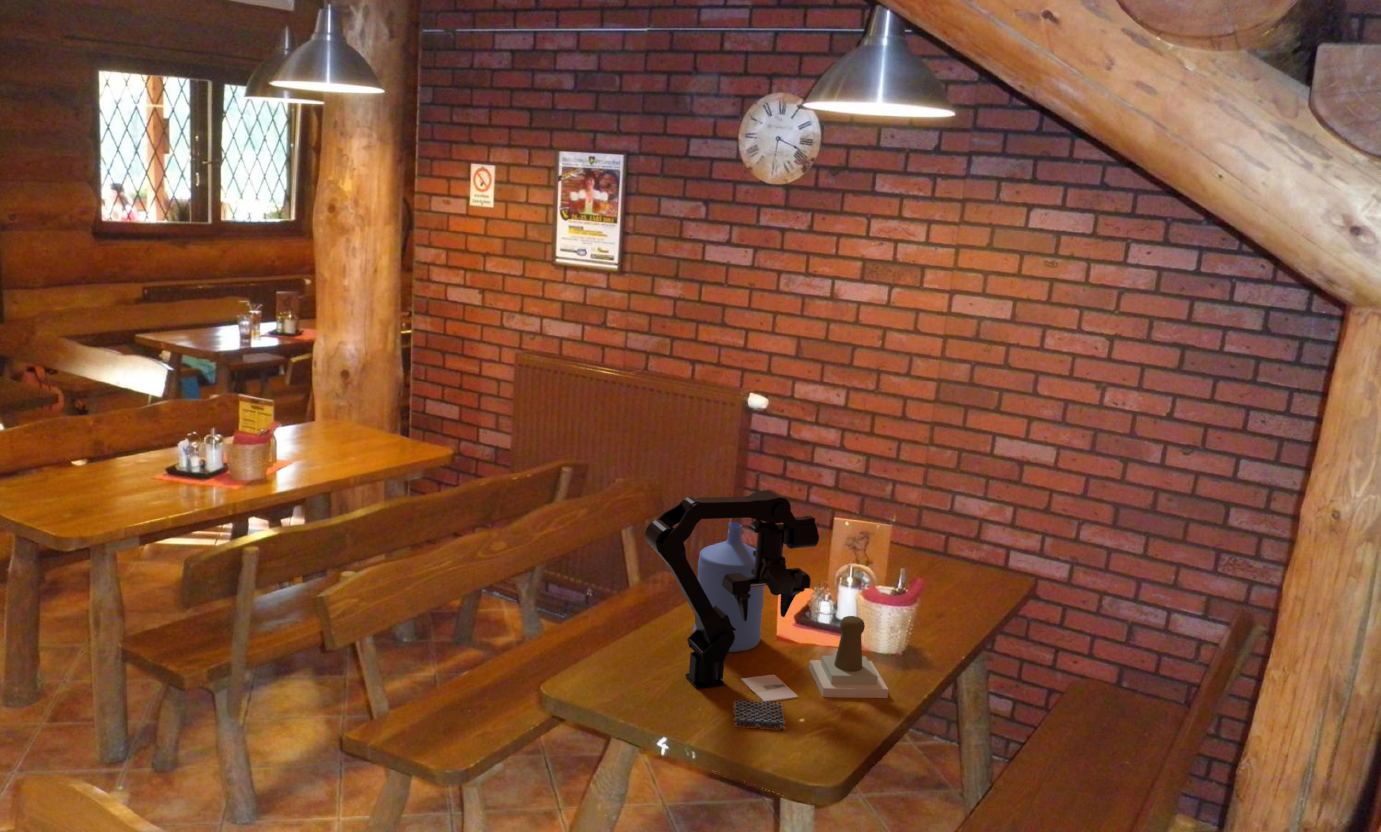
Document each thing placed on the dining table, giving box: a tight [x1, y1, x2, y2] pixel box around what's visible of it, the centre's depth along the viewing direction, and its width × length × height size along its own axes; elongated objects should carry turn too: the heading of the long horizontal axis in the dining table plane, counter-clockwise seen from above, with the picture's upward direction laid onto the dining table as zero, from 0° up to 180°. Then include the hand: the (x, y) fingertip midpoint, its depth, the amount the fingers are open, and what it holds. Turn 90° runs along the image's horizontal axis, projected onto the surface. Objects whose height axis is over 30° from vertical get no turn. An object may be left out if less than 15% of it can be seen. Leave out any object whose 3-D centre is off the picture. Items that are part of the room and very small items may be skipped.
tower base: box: [808, 655, 889, 699], centre depth 255 cm, size 14×14×4 cm
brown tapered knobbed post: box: [834, 615, 866, 672], centre depth 253 cm, size 6×6×11 cm
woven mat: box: [732, 698, 787, 731], centre depth 237 cm, size 10×11×2 cm
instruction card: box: [740, 674, 799, 703], centre depth 250 cm, size 8×11×1 cm
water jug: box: [692, 522, 765, 653], centre depth 271 cm, size 16×16×28 cm
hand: (763, 618), depth 253 cm, fingers open, 9 cm apart
